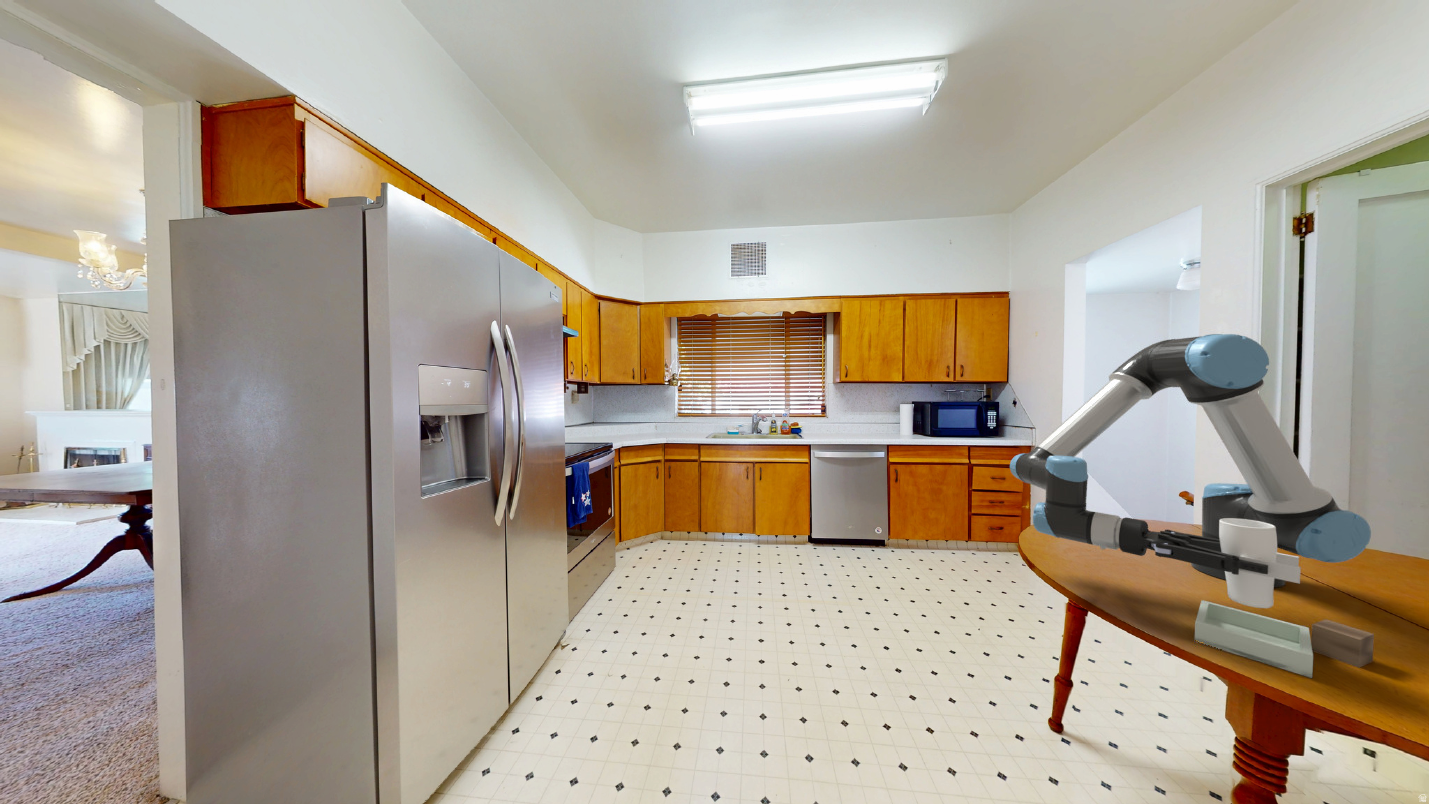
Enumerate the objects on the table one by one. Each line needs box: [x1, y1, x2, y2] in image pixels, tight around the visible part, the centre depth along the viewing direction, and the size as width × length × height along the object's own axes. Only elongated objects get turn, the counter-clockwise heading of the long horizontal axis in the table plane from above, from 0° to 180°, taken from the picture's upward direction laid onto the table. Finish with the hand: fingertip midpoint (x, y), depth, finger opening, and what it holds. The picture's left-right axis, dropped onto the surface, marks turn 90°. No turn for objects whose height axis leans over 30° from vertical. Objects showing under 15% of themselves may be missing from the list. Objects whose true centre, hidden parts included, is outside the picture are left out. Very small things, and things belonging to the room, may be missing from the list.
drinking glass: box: [1219, 518, 1278, 609], centre depth 79 cm, size 7×7×15 cm
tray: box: [1194, 599, 1314, 679], centre depth 80 cm, size 13×13×4 cm
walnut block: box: [1310, 618, 1375, 669], centre depth 76 cm, size 5×5×5 cm
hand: (1298, 569), depth 75 cm, fingers closed on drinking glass, 6 cm apart
